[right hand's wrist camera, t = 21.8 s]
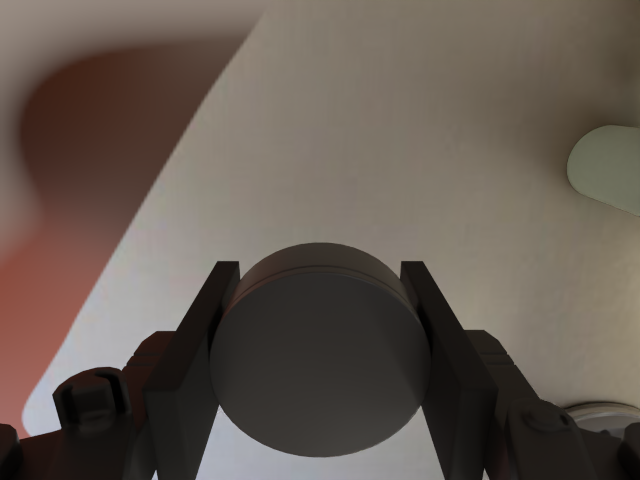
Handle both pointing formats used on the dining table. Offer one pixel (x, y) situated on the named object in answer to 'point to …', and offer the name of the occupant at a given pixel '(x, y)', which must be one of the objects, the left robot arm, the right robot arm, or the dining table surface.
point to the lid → (320, 352)
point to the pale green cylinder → (608, 167)
